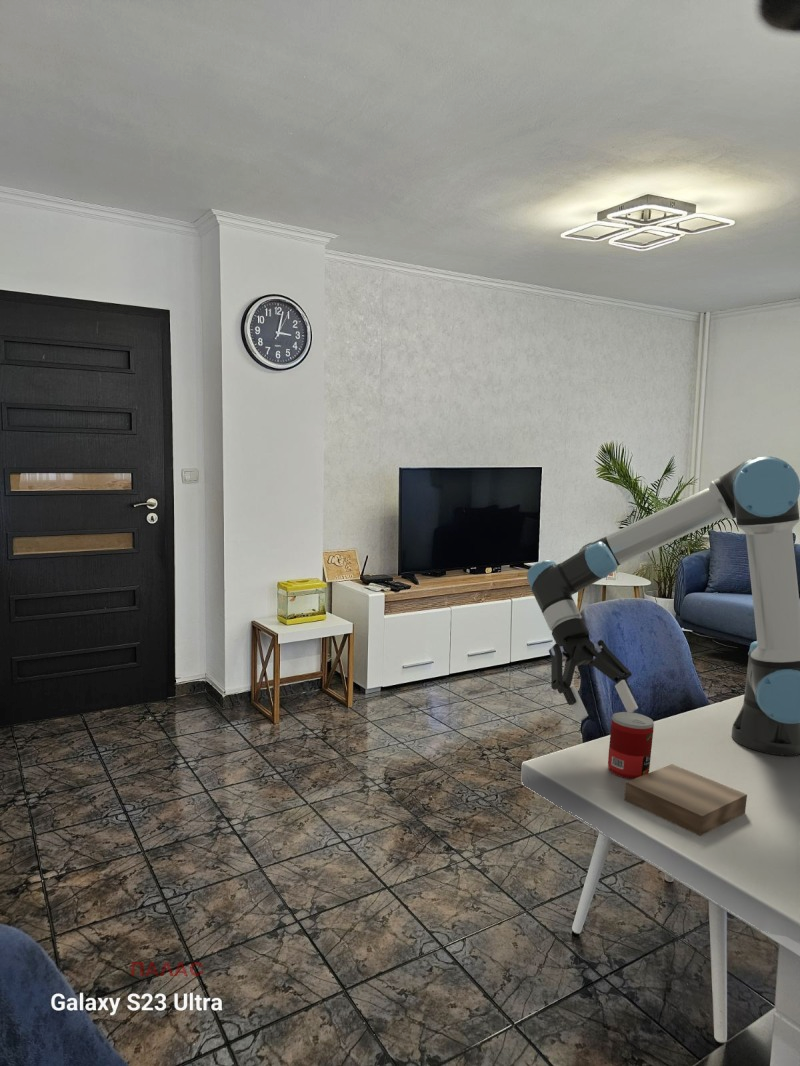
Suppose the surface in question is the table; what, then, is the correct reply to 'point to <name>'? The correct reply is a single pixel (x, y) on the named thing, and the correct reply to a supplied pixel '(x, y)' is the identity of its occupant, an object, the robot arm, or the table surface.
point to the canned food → (630, 744)
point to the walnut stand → (685, 798)
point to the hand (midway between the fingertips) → (608, 714)
